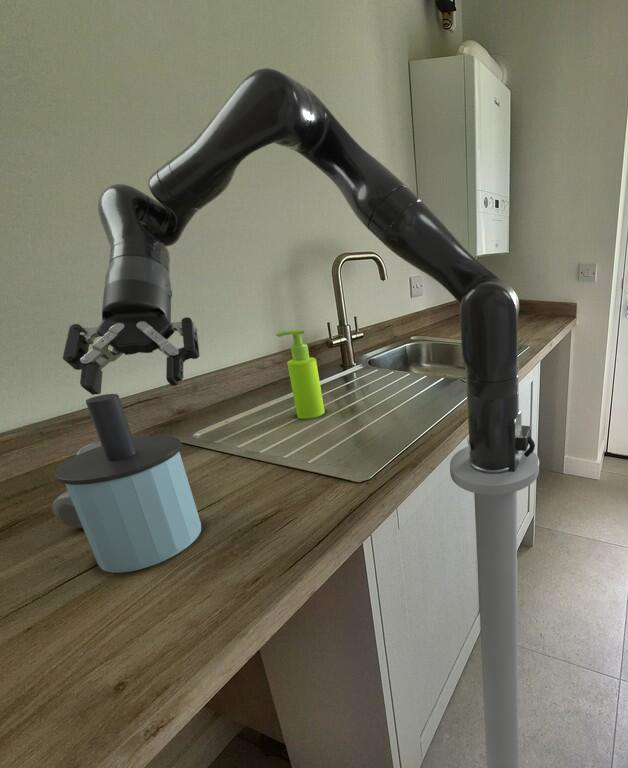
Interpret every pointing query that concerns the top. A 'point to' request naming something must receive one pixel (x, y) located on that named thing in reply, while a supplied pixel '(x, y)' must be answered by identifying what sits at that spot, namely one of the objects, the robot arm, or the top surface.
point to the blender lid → (115, 447)
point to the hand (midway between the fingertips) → (134, 387)
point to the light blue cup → (138, 516)
